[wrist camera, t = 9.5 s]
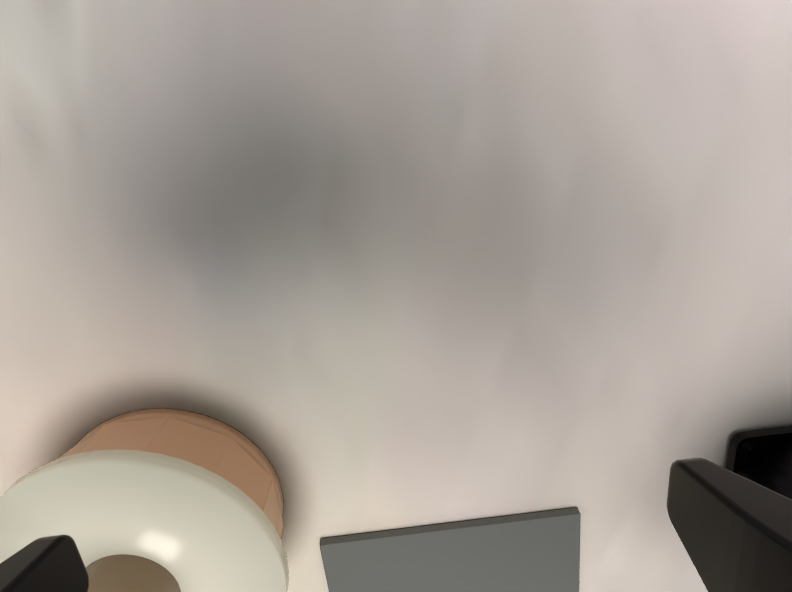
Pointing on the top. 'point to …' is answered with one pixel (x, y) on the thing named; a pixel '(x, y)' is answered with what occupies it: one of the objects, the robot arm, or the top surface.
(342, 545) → the mat
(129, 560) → the lid
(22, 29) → the top surface
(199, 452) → the bowl
